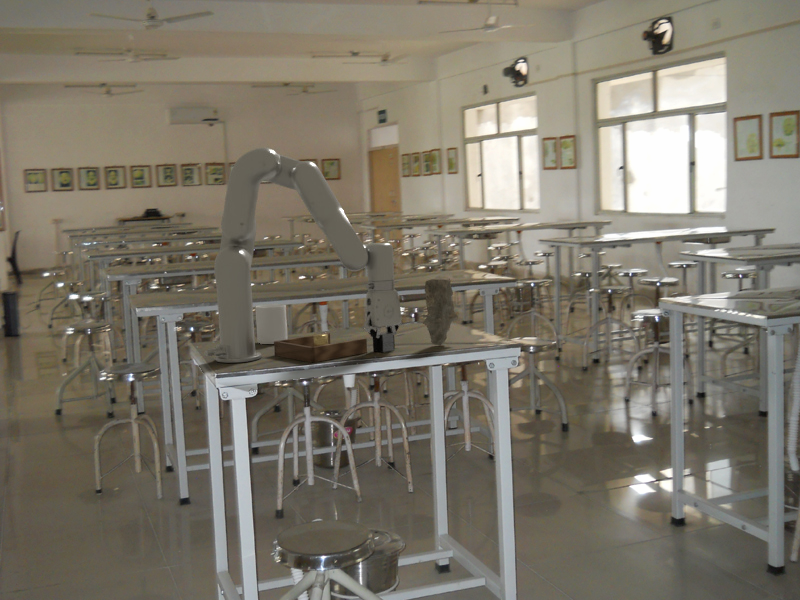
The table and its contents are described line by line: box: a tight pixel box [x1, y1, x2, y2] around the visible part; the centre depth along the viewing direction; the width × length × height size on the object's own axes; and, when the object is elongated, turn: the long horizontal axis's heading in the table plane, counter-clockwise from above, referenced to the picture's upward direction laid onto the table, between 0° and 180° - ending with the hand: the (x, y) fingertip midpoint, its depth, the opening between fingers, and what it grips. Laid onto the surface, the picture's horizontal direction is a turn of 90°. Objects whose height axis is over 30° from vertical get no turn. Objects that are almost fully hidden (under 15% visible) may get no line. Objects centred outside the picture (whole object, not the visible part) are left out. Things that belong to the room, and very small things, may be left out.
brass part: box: [313, 333, 328, 347], centre depth 229 cm, size 4×4×6 cm
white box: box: [255, 303, 288, 345], centre depth 257 cm, size 10×12×12 cm
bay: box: [273, 332, 368, 363], centre depth 232 cm, size 19×18×4 cm
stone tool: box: [422, 276, 459, 346], centre depth 238 cm, size 12×6×20 cm, turn 118°
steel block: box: [380, 331, 395, 353], centre depth 233 cm, size 4×4×5 cm
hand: (384, 349), depth 233 cm, fingers closed on steel block, 4 cm apart
